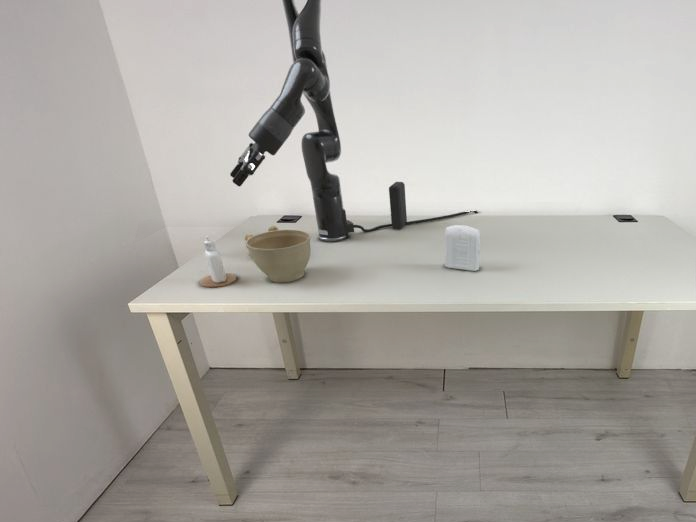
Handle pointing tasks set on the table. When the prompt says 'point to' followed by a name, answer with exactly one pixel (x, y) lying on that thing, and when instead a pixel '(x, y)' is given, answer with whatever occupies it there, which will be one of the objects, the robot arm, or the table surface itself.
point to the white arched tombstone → (462, 247)
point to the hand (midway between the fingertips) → (234, 180)
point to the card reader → (397, 205)
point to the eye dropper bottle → (214, 261)
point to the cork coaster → (210, 283)
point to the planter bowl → (281, 253)
